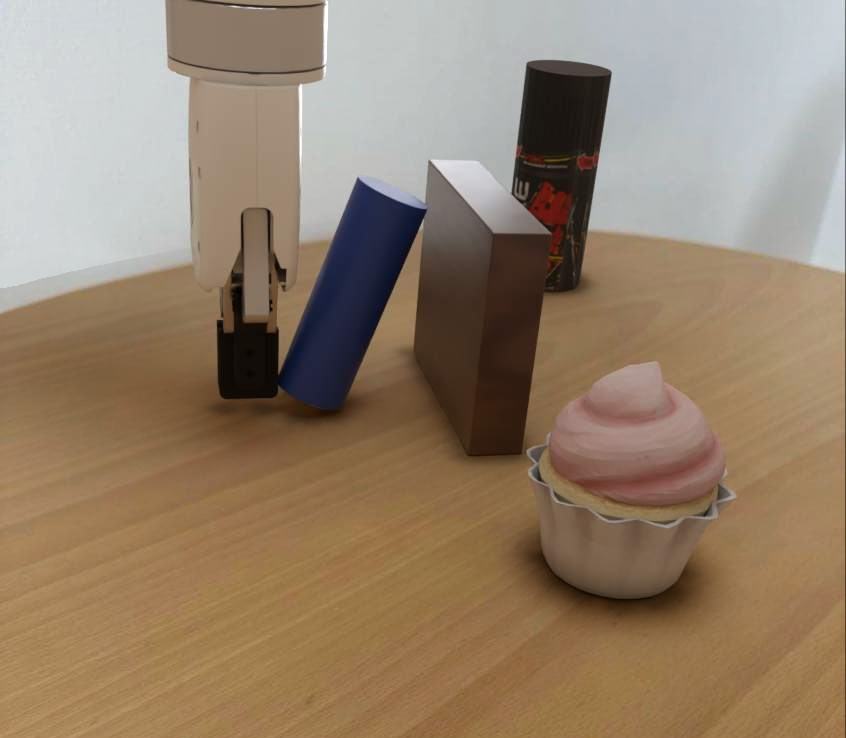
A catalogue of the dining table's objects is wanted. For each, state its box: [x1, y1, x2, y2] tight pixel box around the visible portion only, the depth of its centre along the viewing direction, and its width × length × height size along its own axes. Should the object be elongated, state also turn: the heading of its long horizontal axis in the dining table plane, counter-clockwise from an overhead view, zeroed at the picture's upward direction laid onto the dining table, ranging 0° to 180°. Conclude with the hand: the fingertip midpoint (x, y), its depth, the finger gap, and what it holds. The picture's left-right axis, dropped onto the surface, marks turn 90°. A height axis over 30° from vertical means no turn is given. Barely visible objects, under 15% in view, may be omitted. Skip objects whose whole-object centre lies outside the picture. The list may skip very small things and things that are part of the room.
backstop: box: [412, 159, 552, 456], centre depth 64 cm, size 3×14×12 cm, turn 13°
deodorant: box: [510, 59, 613, 293], centre depth 83 cm, size 6×6×15 cm
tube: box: [278, 174, 428, 411], centre depth 63 cm, size 11×4×12 cm, turn 103°
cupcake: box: [526, 360, 738, 600], centre depth 51 cm, size 9×9×10 cm
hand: (247, 392), depth 64 cm, fingers closed
